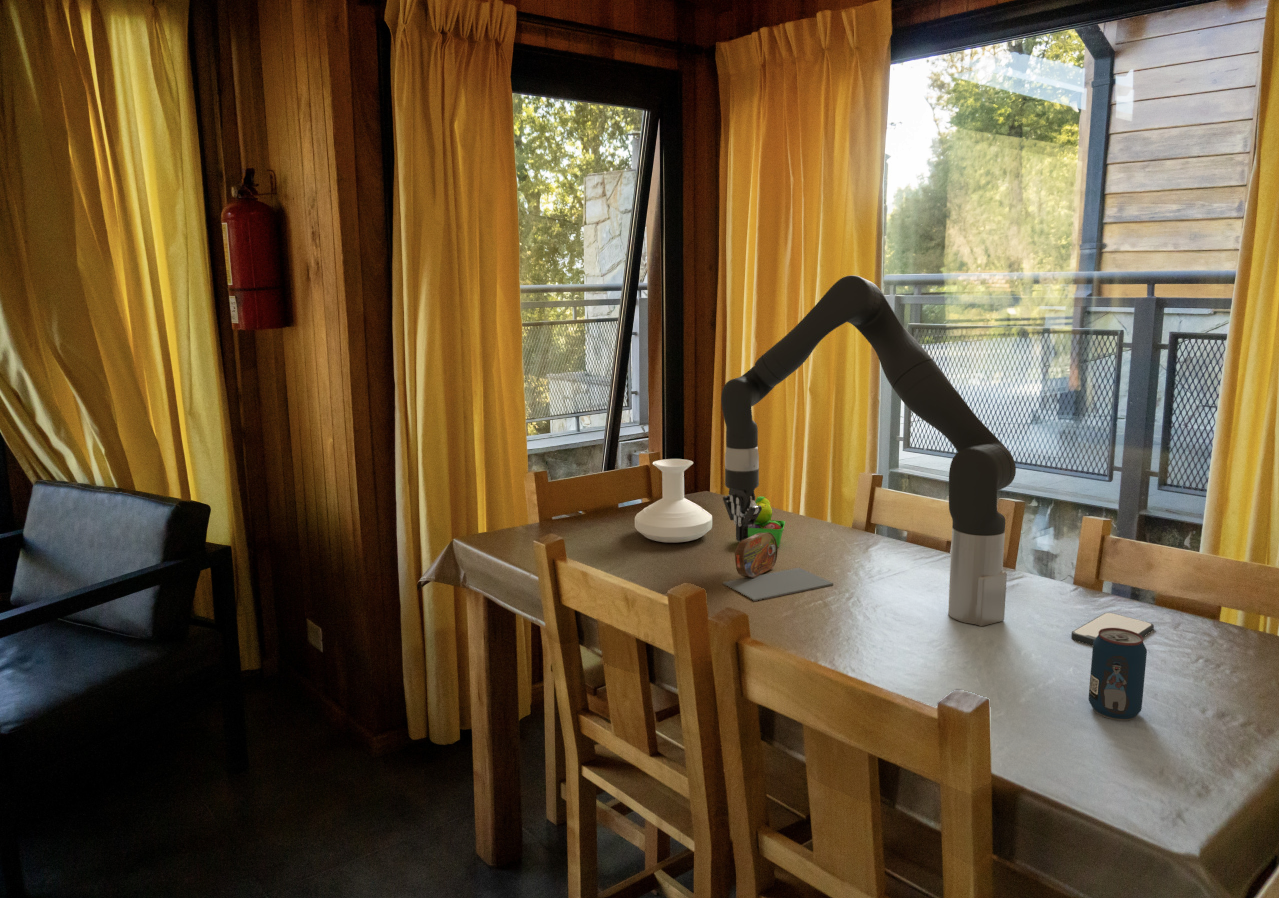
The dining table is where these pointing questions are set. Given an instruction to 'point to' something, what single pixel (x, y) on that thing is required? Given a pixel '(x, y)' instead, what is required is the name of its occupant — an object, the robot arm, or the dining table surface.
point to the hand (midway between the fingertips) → (741, 540)
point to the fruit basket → (766, 521)
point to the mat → (777, 584)
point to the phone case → (1109, 620)
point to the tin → (756, 555)
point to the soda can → (1117, 674)
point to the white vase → (673, 509)
